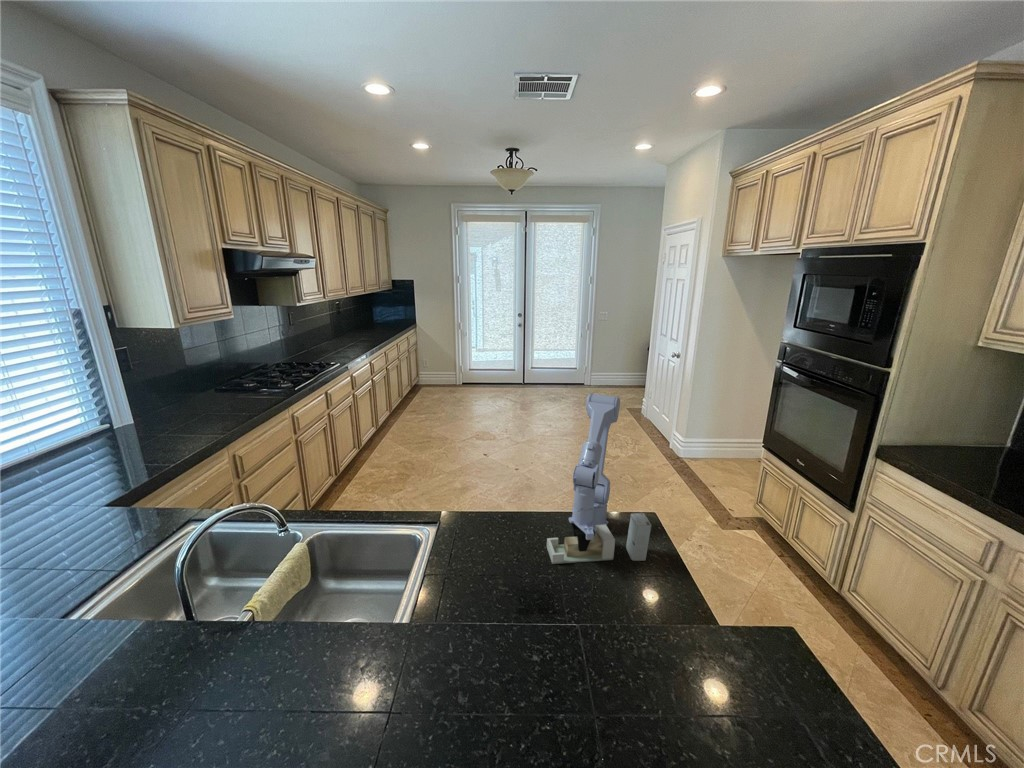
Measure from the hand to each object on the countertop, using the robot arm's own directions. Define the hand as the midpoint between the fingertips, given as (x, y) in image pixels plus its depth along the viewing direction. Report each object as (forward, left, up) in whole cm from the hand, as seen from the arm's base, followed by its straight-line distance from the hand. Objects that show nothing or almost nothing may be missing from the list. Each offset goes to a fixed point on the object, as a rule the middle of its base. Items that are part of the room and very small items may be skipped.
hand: (580, 546), depth 118 cm
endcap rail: (0, 0, -2) cm, 2 cm away
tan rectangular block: (-1, +1, -2) cm, 2 cm away
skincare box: (-10, +13, -3) cm, 17 cm away
